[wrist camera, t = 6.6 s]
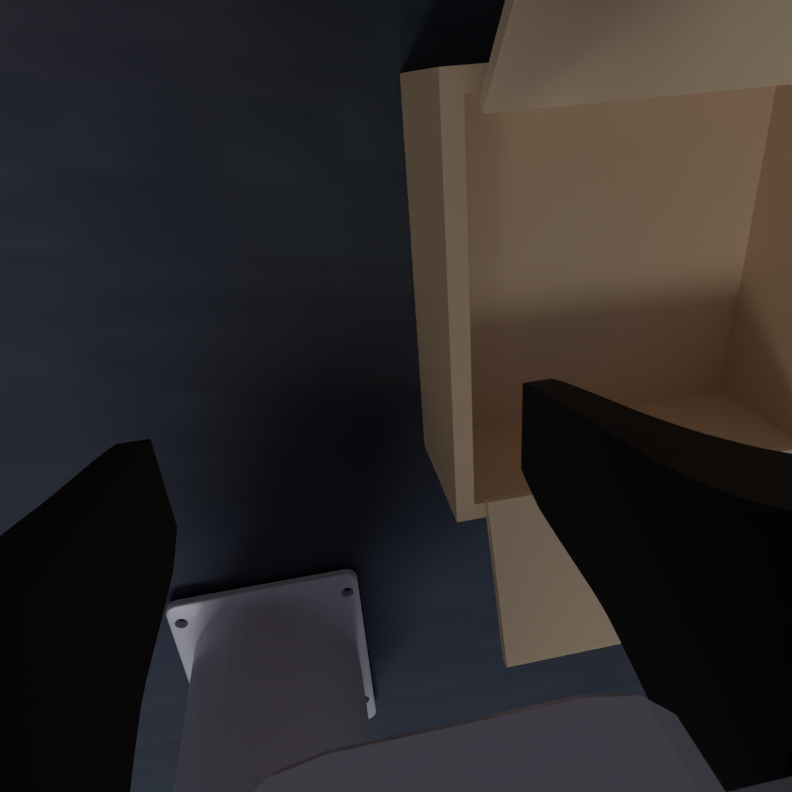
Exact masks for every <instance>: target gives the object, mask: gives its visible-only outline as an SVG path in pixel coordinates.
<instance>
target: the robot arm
mask: <svg viewBox="0 0 792 792" xmlns="http://www.w3.org/2000/svg"><path fill="white" fill-rule="evenodd" d="M521 470H522V472H523V475H524V477H525V479H526V482H527V484H528V486H529V488H530V491H531V493H532V495H533V497H534V499H535V501H536V503H537V505H538V507H539V509H540V511H541V512H542V514H543V516H544V517H545V519H546V520H547V522H548V523H549V525H550V527H551V528H552V530H553V531H554V533H555V534H556V536H557V537H558V539H559V541H560V542H561V544H562V545H563V547H564V548H565V550H566V551H567V553H568V554H569V556H570V557H571V559H572V560H573V562H574V563H575V565H576V566H577V568H578V569H579V571H580V572H581V574H582V575H583V577H584V579H585V580H586V582H587V583H588V585H589V586H590V588H591V589H592V591H593V592H594V594H595V596H596V597H597V599H598V601H599V602H600V604H601V606H602V607H603V609H604V611H605V612H606V614H607V616H608V618H609V620H610V622H611V624H612V626H613V628H614V630H615V632H616V634H617V636H618V638H619V640H620V642H621V644H622V646H623V648H624V650H625V652H626V654H627V656H628V657H629V660H630V662H631V664H632V666H633V668H634V670H635V672H636V674H637V676H638V678H639V681H640V683H641V685H642V687H643V689H644V691H645V693H646V695H647V697H648V699H647V698H645V697H643V696H641V695H635V694H596V695H579V696H574V697H570V698H565V699H561V700H556V701H551V702H547V703H542V704H538V705H533V706H528V707H524V708H519V709H514V710H510V711H505V712H501V713H496V714H491V715H487V716H482V717H478V718H473V719H468V720H464V721H459V722H455V723H450V724H445V725H441V726H436V727H432V728H427V729H422V730H418V731H413V732H409V733H404V734H399V735H395V736H390V737H386V738H381V739H376V740H372V738H371V731H370V724H369V719H370V718H371V717H373V716H374V715H375V713H376V707H375V700H374V693H373V686H372V679H371V672H370V665H369V658H368V651H367V644H366V636H365V629H364V622H363V615H362V608H361V601H360V594H359V587H358V580H357V575H356V573H355V572H354V571H353V570H349V569H343V570H338V571H332V572H327V573H321V574H316V575H311V576H305V577H300V578H294V579H289V580H283V581H278V582H272V583H267V584H261V585H256V586H250V587H245V588H239V589H234V590H228V591H223V592H217V593H212V594H206V595H201V596H195V597H190V598H184V599H179V600H175V601H172V602H171V603H170V604H169V605H168V607H167V611H166V617H167V620H168V623H169V625H170V628H171V631H172V634H173V637H174V640H175V643H176V646H177V649H178V652H179V655H180V658H181V661H182V663H183V666H184V669H185V672H186V675H187V678H188V681H189V684H190V685H189V692H188V699H187V705H186V712H185V719H184V726H183V733H182V739H181V746H180V753H179V760H178V767H177V773H176V780H175V787H174V792H792V454H791V453H786V452H781V451H775V450H770V449H765V448H760V447H756V446H751V445H747V444H742V443H738V442H735V441H731V440H727V439H723V438H719V437H716V436H712V435H708V434H704V433H701V432H698V431H694V430H691V429H688V428H685V427H682V426H679V425H676V424H673V423H670V422H667V421H664V420H661V419H658V418H656V417H653V416H650V415H647V414H645V413H642V412H639V411H637V410H634V409H632V408H629V407H627V406H624V405H622V404H619V403H616V402H614V401H612V400H609V399H607V398H604V397H602V396H599V395H597V394H594V393H592V392H589V391H587V390H584V389H582V388H579V387H577V386H574V385H571V384H569V383H566V382H563V381H560V380H556V379H545V380H538V381H532V382H525V383H523V386H522V442H521ZM176 533H177V525H176V522H175V519H174V515H173V512H172V509H171V506H170V502H169V499H168V496H167V492H166V489H165V486H164V482H163V479H162V476H161V473H160V469H159V466H158V463H157V459H156V456H155V453H154V450H153V446H152V443H151V440H150V439H147V440H141V441H134V442H127V443H121V444H116V445H114V446H113V447H111V448H110V449H108V450H107V451H106V452H104V453H103V454H102V455H100V456H99V457H98V458H97V459H95V460H94V461H93V462H92V463H91V464H89V465H88V466H87V467H86V468H85V469H83V470H82V471H81V472H80V473H79V474H77V475H76V476H75V477H74V478H73V479H71V480H70V481H69V482H68V483H67V484H65V485H64V486H63V487H62V488H61V489H59V490H58V491H57V492H56V493H55V494H53V495H52V496H51V497H50V498H49V499H47V500H46V501H45V502H44V503H42V504H41V505H40V506H39V507H37V508H36V509H35V510H33V511H32V512H31V513H29V514H28V515H27V516H26V517H24V518H23V519H22V520H20V521H19V522H18V523H16V524H15V525H14V526H12V527H11V528H10V529H8V530H7V531H6V532H5V533H3V534H2V535H1V536H0V792H130V787H131V778H132V769H133V761H134V753H135V746H136V738H137V731H138V724H139V716H140V709H141V703H142V698H143V693H144V689H145V684H146V679H147V675H148V671H149V667H150V663H151V659H152V655H153V651H154V647H155V643H156V639H157V635H158V631H159V627H160V623H161V619H162V616H163V612H164V607H165V603H166V599H167V595H168V591H169V587H170V583H171V578H172V574H173V566H174V556H175V545H176ZM345 588H351V589H350V590H347V591H344V590H343V589H345ZM178 619H185V621H180V620H178Z"/></svg>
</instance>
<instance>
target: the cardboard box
mask: <svg viewBox="0 0 792 792" xmlns="http://www.w3.org/2000/svg"><path fill="white" fill-rule="evenodd" d="M487 67H488V63H479V64H467V65H455V66H443V67H435V68H429V69H423V70H417V71H411V72H405V73H400V85H401V100H402V115H403V130H404V145H405V160H406V175H407V190H408V205H409V220H410V235H411V250H412V265H413V280H414V295H415V310H416V325H417V340H418V355H419V371H420V386H421V401H422V416H423V431H424V445H425V448H426V450H427V452H428V455H429V457H430V459H431V462H432V464H433V467H434V469H435V471H436V474H437V476H438V478H439V481H440V483H441V485H442V488H443V490H444V493H445V495H446V497H447V500H448V502H449V504H450V507H451V509H452V512H453V514H454V516H455V519H456V521H457V522H462V521H467V520H473V519H479V518H484V517H486V510H485V502H484V499H488V498H494V497H500V496H505V495H511V494H517V493H523V492H529V491H530V488H529V486H528V484H527V482H526V479H525V477H524V475H523V472H522V470H521V442H522V386H523V383H525V382H532V381H538V380H545V379H556V380H560V381H563V382H566V383H569V384H571V385H574V386H577V387H579V388H582V389H584V390H587V391H589V392H592V393H594V394H597V395H599V396H602V397H604V398H607V399H609V400H612V401H614V402H616V403H619V404H622V405H624V406H627V407H629V408H632V409H634V410H637V411H639V412H642V413H645V414H647V415H650V416H653V417H656V418H658V419H661V420H664V421H667V422H670V423H673V424H676V425H679V426H682V427H685V428H688V429H691V430H694V431H698V432H701V433H704V434H708V435H712V436H716V437H719V438H723V439H727V440H731V441H735V442H738V443H742V444H747V445H751V446H756V447H760V448H765V449H770V450H771V449H777V448H783V447H788V446H792V84H789V85H779V86H768V87H758V88H747V89H737V90H726V91H716V92H705V93H695V94H684V95H674V96H663V97H653V98H642V99H632V100H621V101H611V102H600V103H590V104H579V105H569V106H558V107H548V108H537V109H526V110H516V111H505V112H495V113H484V114H482V110H481V106H480V102H479V97H480V93H481V90H482V86H483V82H484V78H485V75H486V71H487Z"/></svg>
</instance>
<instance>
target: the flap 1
mask: <svg viewBox="0 0 792 792" xmlns="http://www.w3.org/2000/svg"><path fill="white" fill-rule="evenodd" d="M789 84H792V0H505V3H504V7H503V10H502V14H501V18H500V22H499V25H498V29H497V33H496V37H495V41H494V44H493V48H492V52H491V56H490V59H489V63H488V67H487V71H486V75H485V78H484V82H483V86H482V90H481V93H480V97H479V102H480V106H481V110H482V114H484V113H495V112H505V111H516V110H526V109H537V108H548V107H558V106H569V105H579V104H590V103H600V102H611V101H621V100H632V99H642V98H653V97H663V96H674V95H684V94H695V93H705V92H716V91H726V90H737V89H747V88H758V87H768V86H779V85H789Z"/></svg>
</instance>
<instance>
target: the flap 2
mask: <svg viewBox="0 0 792 792" xmlns="http://www.w3.org/2000/svg"><path fill="white" fill-rule="evenodd" d="M771 450H775V451H781V452H786V453H791V454H792V446H788V447H783V448H777V449H771ZM484 502H485V510H486V518H487V527H488V535H489V544H490V552H491V561H492V569H493V577H494V586H495V594H496V603H497V611H498V620H499V628H500V636H501V645H502V653H503V661H504V663H505V664H506V666H507V667H511V666H516V665H521V664H526V663H530V662H535V661H540V660H545V659H550V658H554V657H559V656H564V655H569V654H574V653H578V652H583V651H588V650H593V649H598V648H602V647H607V646H612V645H617V644H621V642H620V640H619V638H618V636H617V634H616V632H615V630H614V628H613V626H612V624H611V622H610V620H609V618H608V616H607V614H606V612H605V611H604V609H603V607H602V606H601V604H600V602H599V601H598V599H597V597H596V596H595V594H594V592H593V591H592V589H591V588H590V586H589V585H588V583H587V582H586V580H585V579H584V577H583V575H582V574H581V572H580V571H579V569H578V568H577V566H576V565H575V563H574V562H573V560H572V559H571V557H570V556H569V554H568V553H567V551H566V550H565V548H564V547H563V545H562V544H561V542H560V541H559V539H558V537H557V536H556V534H555V533H554V531H553V530H552V528H551V527H550V525H549V523H548V522H547V520H546V519H545V517H544V516H543V514H542V512H541V511H540V509H539V507H538V505H537V503H536V501H535V499H534V497H533V495H532V493H531V491H529V492H523V493H517V494H511V495H505V496H500V497H494V498H488V499H484Z"/></svg>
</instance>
